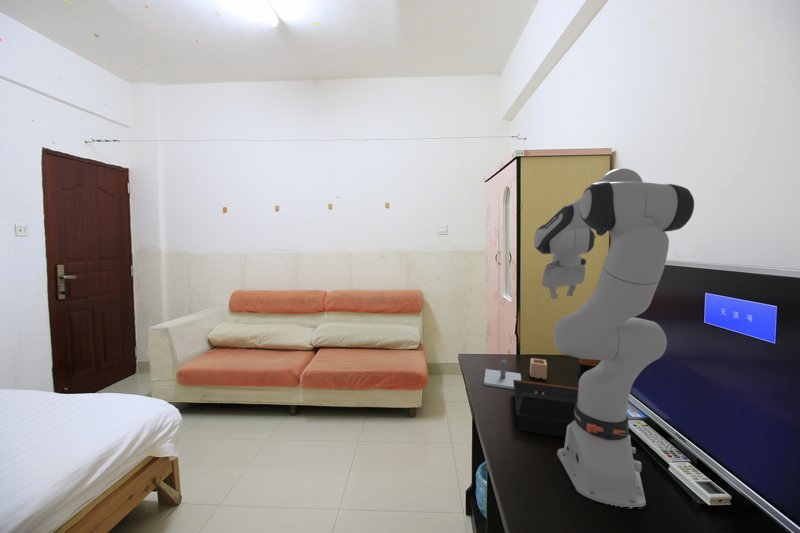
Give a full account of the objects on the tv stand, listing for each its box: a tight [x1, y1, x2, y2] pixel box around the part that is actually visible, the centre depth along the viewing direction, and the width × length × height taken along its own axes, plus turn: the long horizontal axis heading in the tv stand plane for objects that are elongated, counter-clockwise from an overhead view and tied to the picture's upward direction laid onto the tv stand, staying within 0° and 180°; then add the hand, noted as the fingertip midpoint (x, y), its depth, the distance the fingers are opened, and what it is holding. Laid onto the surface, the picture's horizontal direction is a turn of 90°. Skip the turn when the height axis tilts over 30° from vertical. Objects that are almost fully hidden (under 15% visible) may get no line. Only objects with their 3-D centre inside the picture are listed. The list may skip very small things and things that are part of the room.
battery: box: [577, 358, 601, 378], centre depth 145 cm, size 4×7×10 cm, turn 75°
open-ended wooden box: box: [529, 357, 548, 380], centre depth 145 cm, size 6×6×6 cm
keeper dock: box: [483, 359, 522, 390], centre depth 140 cm, size 14×14×8 cm
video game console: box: [513, 379, 578, 439], centre depth 113 cm, size 28×25×10 cm
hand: (561, 297), depth 130 cm, fingers open, 8 cm apart
